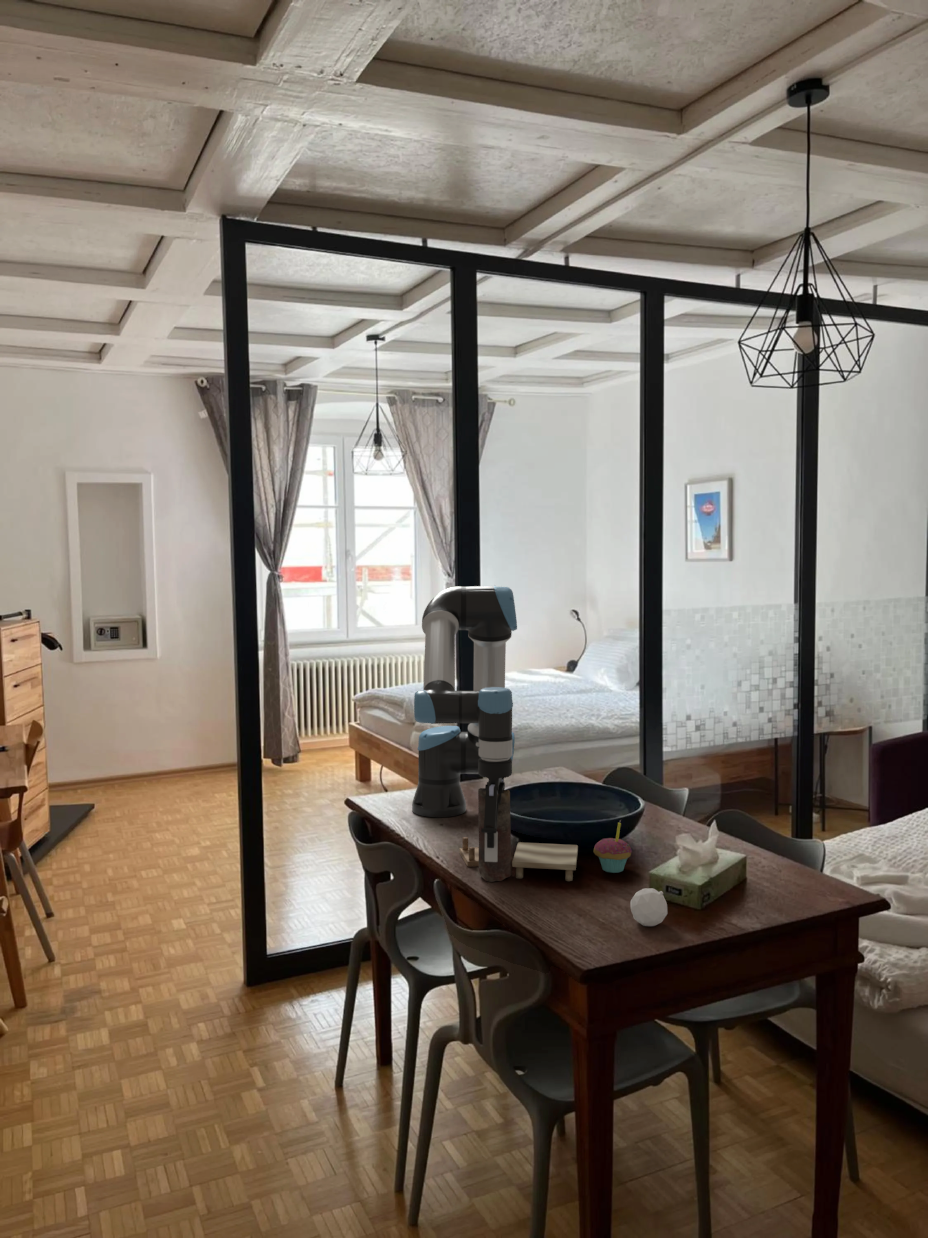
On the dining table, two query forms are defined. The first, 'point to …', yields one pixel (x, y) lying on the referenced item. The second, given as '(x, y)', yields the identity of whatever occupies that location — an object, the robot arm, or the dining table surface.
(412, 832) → the dining table surface
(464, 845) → the upturned stool decor
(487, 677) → the robot arm
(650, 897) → the ornament
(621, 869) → the cupcake
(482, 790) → the brown wooden log
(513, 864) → the small wooden stool
